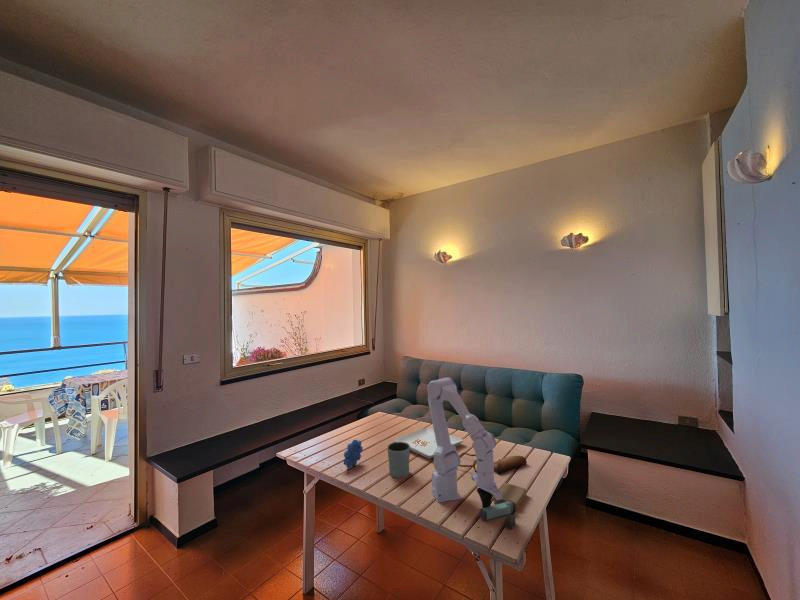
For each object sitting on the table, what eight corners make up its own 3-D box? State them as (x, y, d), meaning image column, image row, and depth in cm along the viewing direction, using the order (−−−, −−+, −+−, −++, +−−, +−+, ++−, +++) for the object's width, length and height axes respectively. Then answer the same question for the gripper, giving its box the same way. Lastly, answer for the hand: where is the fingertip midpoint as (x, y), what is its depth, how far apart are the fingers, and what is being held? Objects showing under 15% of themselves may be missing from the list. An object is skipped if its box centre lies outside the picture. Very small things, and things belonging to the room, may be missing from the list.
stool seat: (530, 496, 120) (530, 489, 120) (511, 529, 102) (511, 521, 102) (505, 488, 126) (504, 482, 126) (482, 519, 108) (482, 511, 108)
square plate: (392, 446, 171) (392, 439, 171) (427, 433, 189) (427, 426, 189) (430, 463, 151) (429, 454, 151) (464, 446, 169) (464, 438, 169)
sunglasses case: (512, 457, 153) (517, 447, 150) (523, 470, 148) (528, 460, 145) (484, 467, 144) (489, 456, 142) (494, 481, 139) (500, 470, 136)
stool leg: (509, 508, 113) (509, 500, 113) (514, 512, 111) (514, 504, 111) (479, 516, 109) (479, 508, 109) (484, 521, 106) (483, 512, 106)
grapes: (355, 459, 156) (355, 434, 156) (366, 463, 152) (365, 437, 152) (337, 468, 146) (337, 442, 147) (347, 473, 142) (347, 445, 143)
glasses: (475, 475, 138) (475, 463, 139) (448, 468, 145) (447, 456, 146) (485, 462, 149) (484, 451, 150) (458, 457, 156) (458, 446, 157)
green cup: (405, 466, 147) (405, 440, 147) (414, 476, 137) (413, 448, 138) (384, 471, 143) (384, 443, 144) (392, 481, 134) (391, 452, 134)
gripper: (508, 477, 106) (510, 519, 105) (482, 459, 119) (483, 496, 119) (491, 481, 103) (493, 525, 102) (466, 463, 117) (467, 501, 116)
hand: (486, 510), depth 110 cm, fingers closed, pressing on stool leg
